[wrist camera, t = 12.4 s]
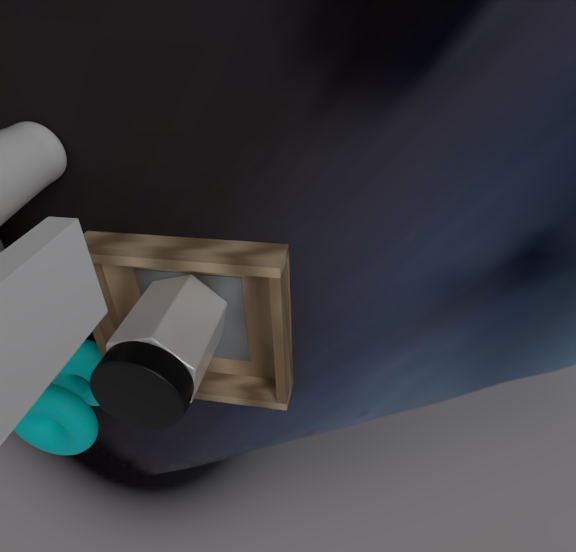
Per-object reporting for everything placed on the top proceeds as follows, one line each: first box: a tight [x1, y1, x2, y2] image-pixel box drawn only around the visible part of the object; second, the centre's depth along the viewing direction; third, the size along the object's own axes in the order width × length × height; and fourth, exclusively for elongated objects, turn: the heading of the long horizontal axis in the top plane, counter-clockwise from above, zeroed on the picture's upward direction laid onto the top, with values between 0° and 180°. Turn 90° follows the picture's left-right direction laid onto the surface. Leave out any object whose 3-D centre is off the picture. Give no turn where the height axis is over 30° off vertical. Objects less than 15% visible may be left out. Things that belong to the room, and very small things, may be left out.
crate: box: [83, 231, 293, 411], centre depth 46 cm, size 20×18×4 cm
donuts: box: [13, 340, 102, 455], centre depth 52 cm, size 10×10×10 cm
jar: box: [89, 274, 227, 430], centre depth 42 cm, size 9×8×12 cm
